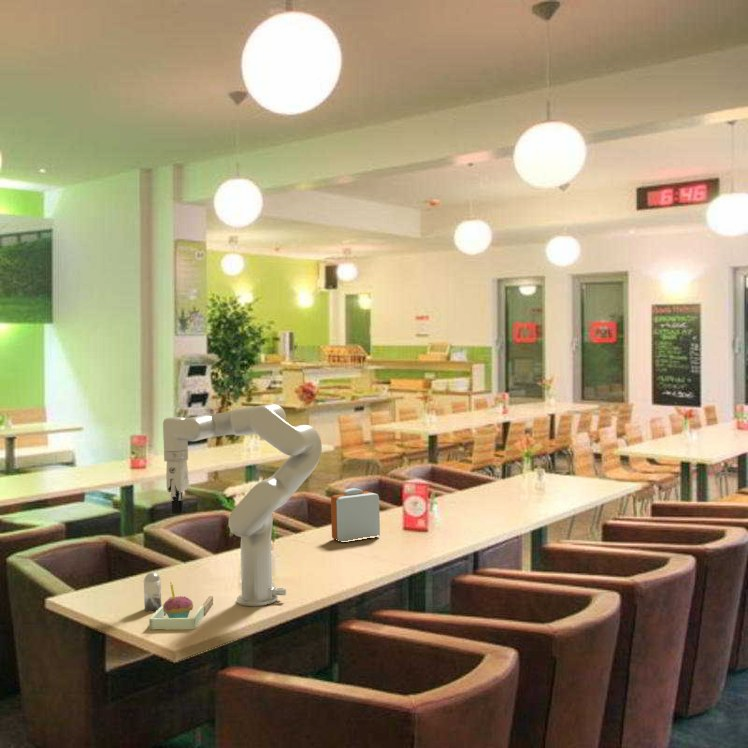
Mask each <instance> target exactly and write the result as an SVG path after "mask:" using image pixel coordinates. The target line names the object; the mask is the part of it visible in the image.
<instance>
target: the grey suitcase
mask: <svg viewBox="0 0 748 748" xmlns="http://www.w3.org/2000/svg"><path fill="white" fill-rule="evenodd" d="M330 513H331V514H330V515H331V516H330V517H331V538H332V539H333V538H334V539H337V540H339V541H348V540H353V539H358V538H363V537H370V536H377V535H379V536H380V535H381V530H380V529H381V528H380V527H381V525H380V524H381V523H380V521H381V520H380V496H379V494H378V493H375V492H371V491H367V490H365V491H363V489H359V488H354V487H353V488H348V489H345V490H344V491H343V493H342V494H334V495H332V496H331V497H330ZM334 539H333V540H334ZM337 540H336V541H337ZM339 541H338V542H339Z"/></svg>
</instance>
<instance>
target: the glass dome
mask: <svg viewBox="0 0 748 748" xmlns="http://www.w3.org/2000/svg"><path fill="white" fill-rule="evenodd" d="M161 579H162V578H161V577H160V575H159V574H158V573H156V572H149V573H147V574H146V575H145V577H144V580H143V594H144V595H143V599H144V602H143V603H144V611H145V612H148V611H153V612H156V610H158V609H159V608H160V607H161V606H162V586H161V585H162V581H161Z"/></svg>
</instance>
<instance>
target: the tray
mask: <svg viewBox="0 0 748 748" xmlns="http://www.w3.org/2000/svg"><path fill="white" fill-rule="evenodd" d="M163 616H164V610H163V606H162V605H161V607H160V608H159V609H158V610H157V611H155V613H153V615H152V616H151V617H150V618H149V620H148V621H149V630H150V629H165V630H195V629H196V628H197V626H198V625H199V623H200V622H201V621H202V619H203V618H204V617H205V615H204V605H203V604H201V605H200V607H199V608H198V609H197V611H196V612H195V613H194V614H193V616H192V617H188V618H169V617H165V616H164V617H163Z"/></svg>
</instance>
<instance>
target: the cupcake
mask: <svg viewBox="0 0 748 748" xmlns="http://www.w3.org/2000/svg"><path fill="white" fill-rule="evenodd" d="M169 586H170V590H171V595H172V596H171V597H173V598H171V599H169V598H168V599H169V600H168V599H167V600H165V602H164V603H165V604H164V603H163V604H164V605H163V604H162V605H163V610H164V612H166V613H167V614H166V615H167V618H189V613H191V612H190V611H192V610H193V609H194V603H193V601H192V600H191V599H190V598H189V597H187V596H181V595H180V596H176V595H175V590H174V585H173V584H172V582H171V581H170V585H169Z"/></svg>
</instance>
